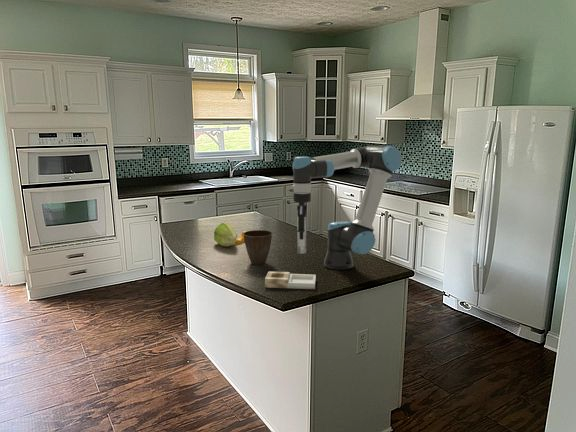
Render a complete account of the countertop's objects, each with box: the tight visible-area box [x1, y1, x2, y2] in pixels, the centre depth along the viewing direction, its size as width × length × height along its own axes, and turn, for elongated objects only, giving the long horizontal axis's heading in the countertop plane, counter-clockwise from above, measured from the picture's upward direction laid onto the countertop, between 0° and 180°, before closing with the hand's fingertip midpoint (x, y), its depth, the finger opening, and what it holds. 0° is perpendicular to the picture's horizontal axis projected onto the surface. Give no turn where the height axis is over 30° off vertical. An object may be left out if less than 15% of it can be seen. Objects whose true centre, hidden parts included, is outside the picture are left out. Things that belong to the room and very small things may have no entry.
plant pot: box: [243, 229, 273, 266], centre depth 222 cm, size 15×15×16 cm
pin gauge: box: [296, 216, 307, 255], centre depth 189 cm, size 4×4×16 cm
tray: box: [287, 273, 317, 290], centre depth 193 cm, size 12×12×2 cm
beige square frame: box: [264, 271, 291, 289], centre depth 193 cm, size 10×10×4 cm
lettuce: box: [213, 222, 238, 248], centre depth 252 cm, size 13×22×14 cm, turn 28°
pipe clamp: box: [232, 230, 247, 246], centre depth 262 cm, size 12×4×6 cm, turn 135°
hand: (301, 244), depth 190 cm, fingers closed on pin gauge, 4 cm apart
